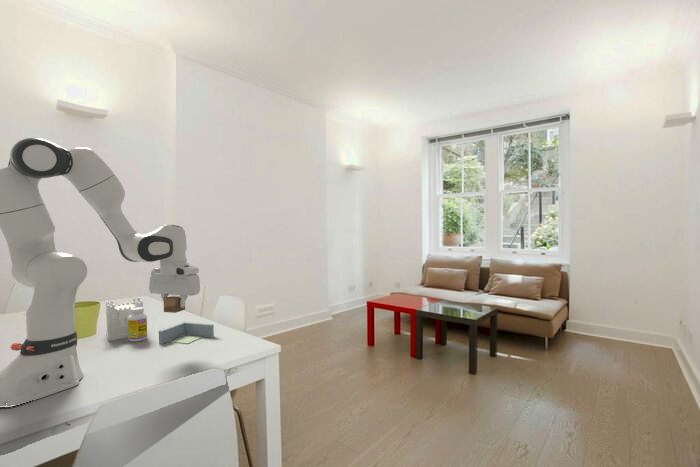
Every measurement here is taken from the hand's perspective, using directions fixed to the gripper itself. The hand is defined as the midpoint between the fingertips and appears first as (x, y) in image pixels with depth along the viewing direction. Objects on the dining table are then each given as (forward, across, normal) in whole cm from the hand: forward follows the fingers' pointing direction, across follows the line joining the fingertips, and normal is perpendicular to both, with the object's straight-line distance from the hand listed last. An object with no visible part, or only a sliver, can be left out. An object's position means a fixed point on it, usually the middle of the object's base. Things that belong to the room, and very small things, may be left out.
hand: (174, 306), depth 131 cm
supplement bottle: (+17, -26, +7) cm, 32 cm away
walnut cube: (+2, 0, 0) cm, 2 cm away
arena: (+17, -6, +13) cm, 22 cm away
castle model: (+17, -39, +12) cm, 44 cm away
